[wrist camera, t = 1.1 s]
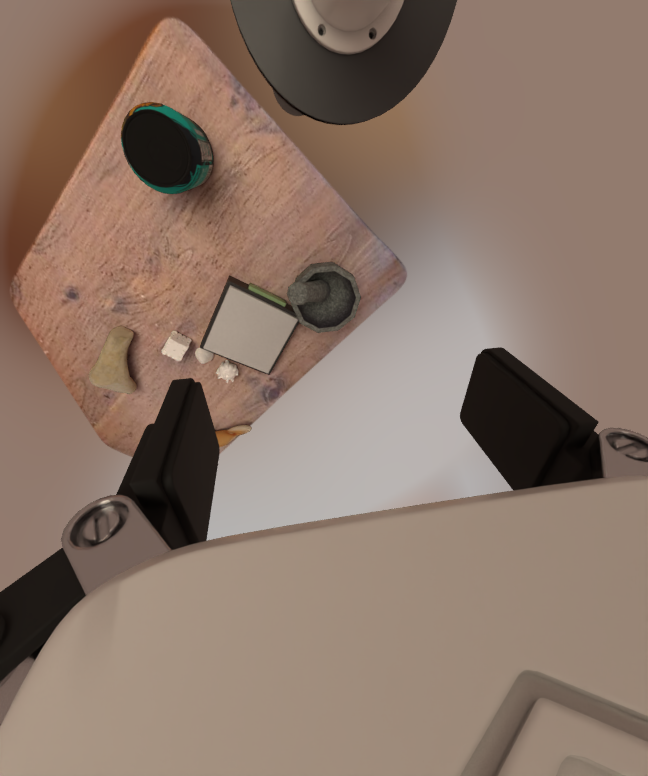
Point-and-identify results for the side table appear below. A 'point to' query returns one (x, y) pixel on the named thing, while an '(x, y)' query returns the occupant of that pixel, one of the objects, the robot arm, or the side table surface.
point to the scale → (250, 326)
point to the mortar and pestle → (324, 297)
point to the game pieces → (180, 345)
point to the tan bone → (114, 363)
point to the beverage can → (166, 148)
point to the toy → (231, 434)
